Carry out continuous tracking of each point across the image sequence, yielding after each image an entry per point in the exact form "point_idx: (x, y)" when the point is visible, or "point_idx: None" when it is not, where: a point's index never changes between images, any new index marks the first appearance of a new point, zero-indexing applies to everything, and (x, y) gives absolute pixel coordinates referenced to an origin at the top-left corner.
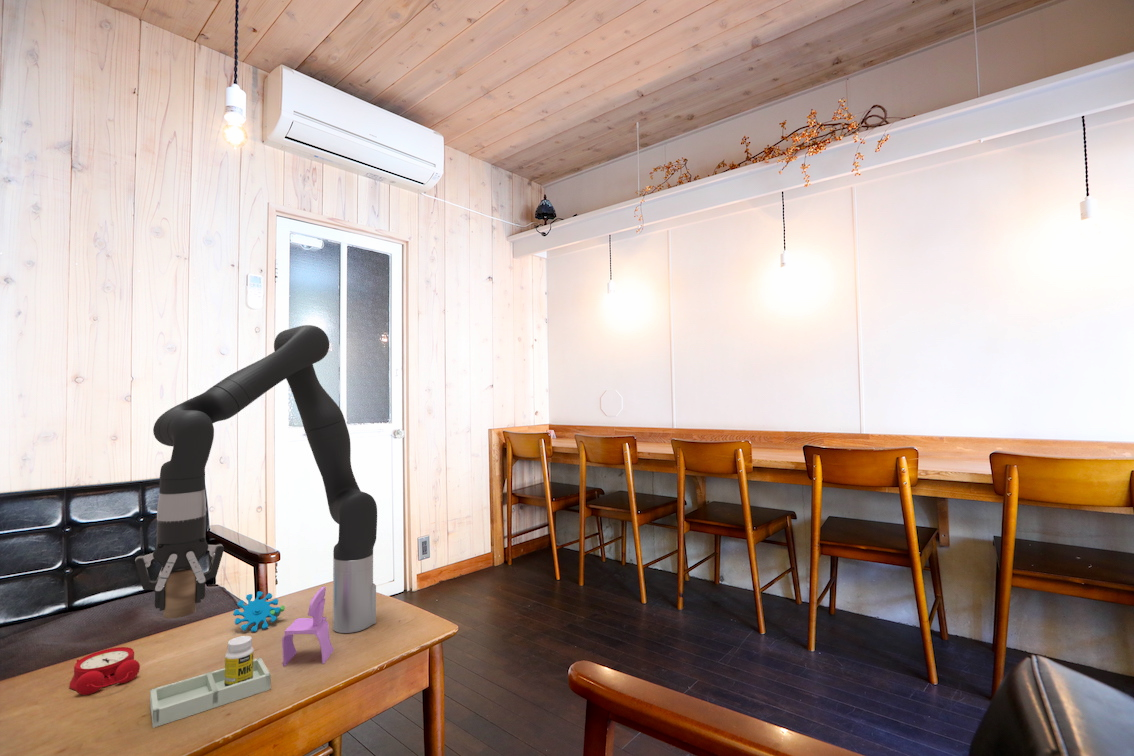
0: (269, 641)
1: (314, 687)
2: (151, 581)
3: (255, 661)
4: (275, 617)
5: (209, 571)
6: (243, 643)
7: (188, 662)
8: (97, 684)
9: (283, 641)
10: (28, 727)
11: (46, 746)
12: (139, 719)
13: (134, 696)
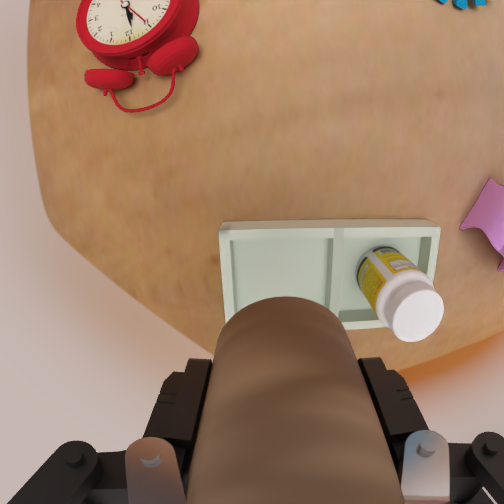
0: (463, 75)
1: (454, 341)
2: (108, 500)
3: (428, 235)
4: (484, 2)
5: (459, 494)
6: (417, 340)
7: (303, 45)
8: (121, 87)
9: (489, 240)
10: (53, 172)
11: (90, 262)
12: (207, 269)
13: (193, 154)
